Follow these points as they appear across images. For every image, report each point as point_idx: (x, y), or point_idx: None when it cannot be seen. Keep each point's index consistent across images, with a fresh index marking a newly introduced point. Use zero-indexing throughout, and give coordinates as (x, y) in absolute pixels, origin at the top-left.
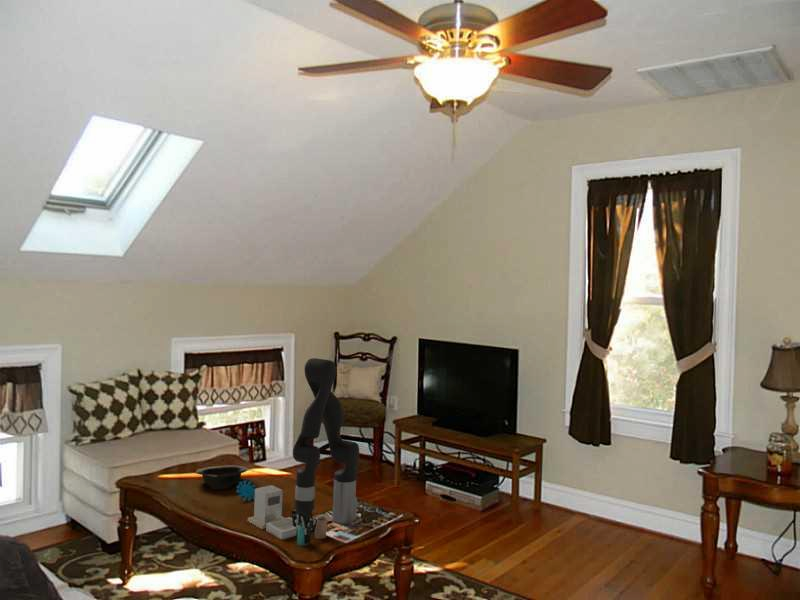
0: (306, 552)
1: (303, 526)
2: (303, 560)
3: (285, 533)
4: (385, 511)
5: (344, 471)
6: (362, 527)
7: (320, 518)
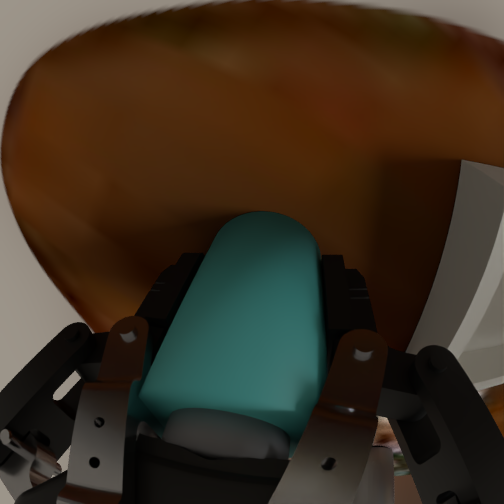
0: (88, 185)
1: (106, 401)
2: (12, 114)
3: (482, 225)
4: None
5: None
6: None
7: None
